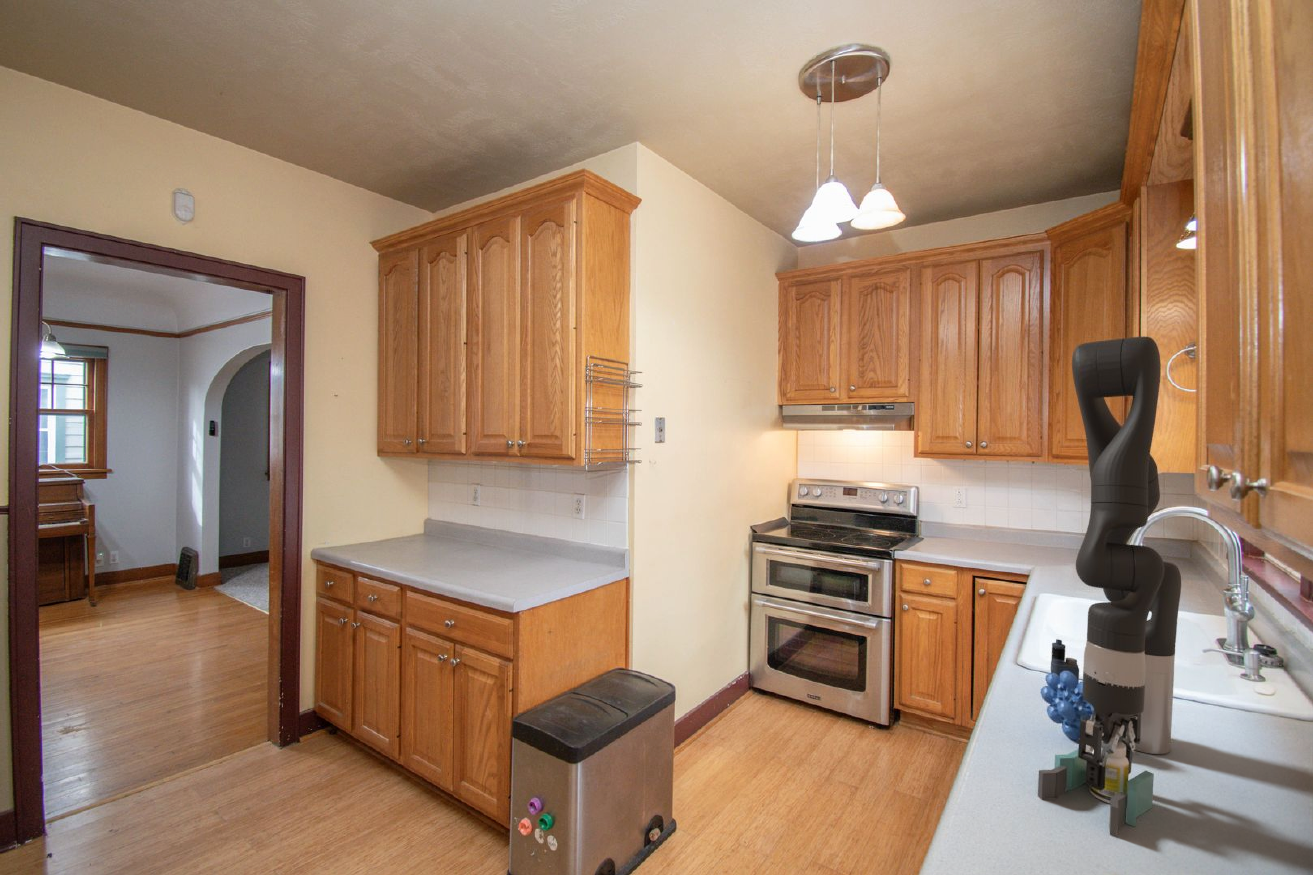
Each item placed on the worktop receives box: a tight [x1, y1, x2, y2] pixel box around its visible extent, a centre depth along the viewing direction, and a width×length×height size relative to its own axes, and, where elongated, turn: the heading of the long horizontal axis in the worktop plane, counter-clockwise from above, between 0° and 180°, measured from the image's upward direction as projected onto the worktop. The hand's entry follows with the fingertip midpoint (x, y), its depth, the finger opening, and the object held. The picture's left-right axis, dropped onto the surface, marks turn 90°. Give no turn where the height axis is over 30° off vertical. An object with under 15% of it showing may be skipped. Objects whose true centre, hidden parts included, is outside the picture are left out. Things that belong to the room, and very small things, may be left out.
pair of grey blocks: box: [1037, 765, 1127, 838], centre depth 88 cm, size 5×10×4 cm, turn 31°
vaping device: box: [1050, 638, 1080, 683], centre depth 127 cm, size 3×5×12 cm, turn 82°
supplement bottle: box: [1088, 741, 1130, 804], centre depth 92 cm, size 5×5×8 cm
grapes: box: [1040, 671, 1094, 741], centre depth 109 cm, size 12×7×12 cm, turn 28°
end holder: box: [1054, 745, 1155, 827], centre depth 92 cm, size 9×11×5 cm
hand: (1108, 779), depth 92 cm, fingers open, 8 cm apart
